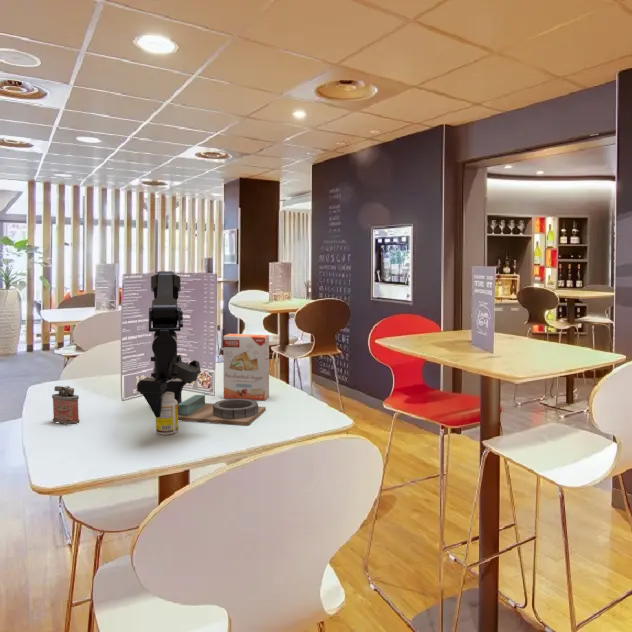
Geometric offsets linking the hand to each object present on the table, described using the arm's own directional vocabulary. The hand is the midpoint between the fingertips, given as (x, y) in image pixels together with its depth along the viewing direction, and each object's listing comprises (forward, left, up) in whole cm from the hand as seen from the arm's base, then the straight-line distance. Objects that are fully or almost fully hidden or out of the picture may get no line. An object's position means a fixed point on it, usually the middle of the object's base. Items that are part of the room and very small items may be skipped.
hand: (166, 412), depth 134 cm
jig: (+7, +18, -5) cm, 20 cm away
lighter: (-31, +2, -6) cm, 32 cm away
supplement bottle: (0, 0, -6) cm, 6 cm away
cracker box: (+8, +39, -6) cm, 40 cm away
